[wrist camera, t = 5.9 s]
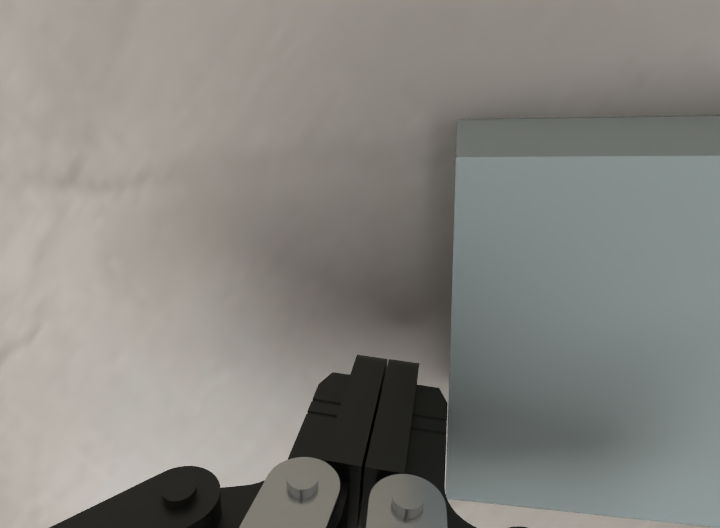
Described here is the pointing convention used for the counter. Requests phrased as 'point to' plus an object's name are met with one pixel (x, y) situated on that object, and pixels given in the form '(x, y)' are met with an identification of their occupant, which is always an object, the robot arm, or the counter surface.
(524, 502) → the grey block
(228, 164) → the counter surface
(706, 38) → the counter surface
